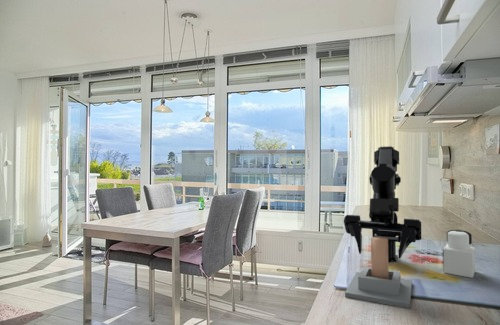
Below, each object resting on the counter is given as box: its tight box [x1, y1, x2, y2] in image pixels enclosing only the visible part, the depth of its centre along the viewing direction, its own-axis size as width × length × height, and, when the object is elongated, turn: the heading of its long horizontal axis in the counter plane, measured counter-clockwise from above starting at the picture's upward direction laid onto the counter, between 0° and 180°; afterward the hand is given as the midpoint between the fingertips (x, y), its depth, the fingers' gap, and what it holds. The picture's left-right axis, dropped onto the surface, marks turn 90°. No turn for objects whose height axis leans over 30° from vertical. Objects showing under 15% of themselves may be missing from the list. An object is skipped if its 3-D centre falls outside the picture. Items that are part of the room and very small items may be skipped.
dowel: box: [370, 236, 389, 279], centre depth 81 cm, size 4×4×12 cm
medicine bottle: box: [442, 229, 476, 279], centre depth 93 cm, size 7×7×12 cm
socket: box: [344, 265, 413, 309], centre depth 81 cm, size 16×14×4 cm
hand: (379, 255), depth 80 cm, fingers open, 9 cm apart
